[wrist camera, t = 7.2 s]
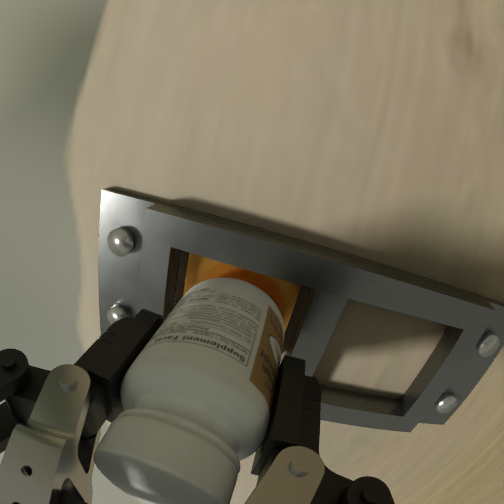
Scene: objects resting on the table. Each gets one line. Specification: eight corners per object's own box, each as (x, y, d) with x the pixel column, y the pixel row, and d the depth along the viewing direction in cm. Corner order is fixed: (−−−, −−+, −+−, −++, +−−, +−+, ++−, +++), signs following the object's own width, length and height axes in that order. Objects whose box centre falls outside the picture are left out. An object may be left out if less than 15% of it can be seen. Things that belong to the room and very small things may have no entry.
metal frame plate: (106, 188, 12) (90, 193, 11) (518, 308, 11) (529, 321, 9) (104, 331, 15) (93, 343, 14) (441, 419, 14) (446, 434, 13)
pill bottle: (269, 375, 13) (229, 536, 6) (175, 344, 13) (90, 482, 6) (300, 294, 11) (273, 491, 4) (188, 259, 12) (57, 405, 5)
